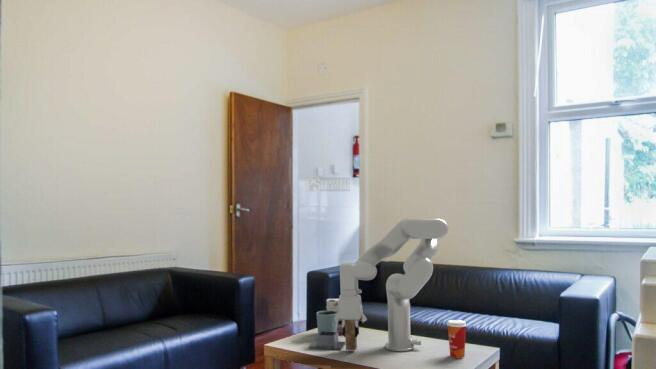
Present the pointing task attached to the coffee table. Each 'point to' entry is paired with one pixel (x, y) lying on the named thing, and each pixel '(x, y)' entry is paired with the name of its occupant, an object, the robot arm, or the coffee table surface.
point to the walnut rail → (350, 335)
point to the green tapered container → (326, 321)
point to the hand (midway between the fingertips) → (350, 335)
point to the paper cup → (457, 338)
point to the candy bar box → (333, 306)
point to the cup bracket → (327, 341)
